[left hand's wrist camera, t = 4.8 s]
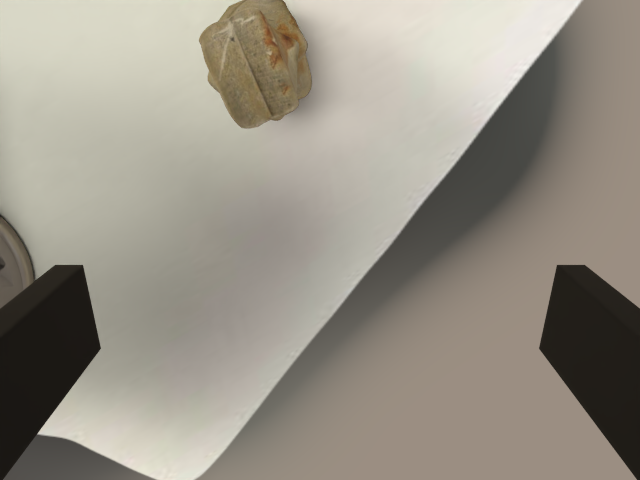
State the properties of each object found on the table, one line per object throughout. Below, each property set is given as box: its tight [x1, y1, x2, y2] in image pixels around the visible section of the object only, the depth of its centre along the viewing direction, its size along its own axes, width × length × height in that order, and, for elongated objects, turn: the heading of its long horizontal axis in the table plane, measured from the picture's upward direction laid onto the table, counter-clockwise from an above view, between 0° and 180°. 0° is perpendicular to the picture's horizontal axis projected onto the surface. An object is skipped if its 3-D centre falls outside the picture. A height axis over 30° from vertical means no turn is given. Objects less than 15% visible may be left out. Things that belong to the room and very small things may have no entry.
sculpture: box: [199, 0, 312, 128], centre depth 27 cm, size 6×7×15 cm
